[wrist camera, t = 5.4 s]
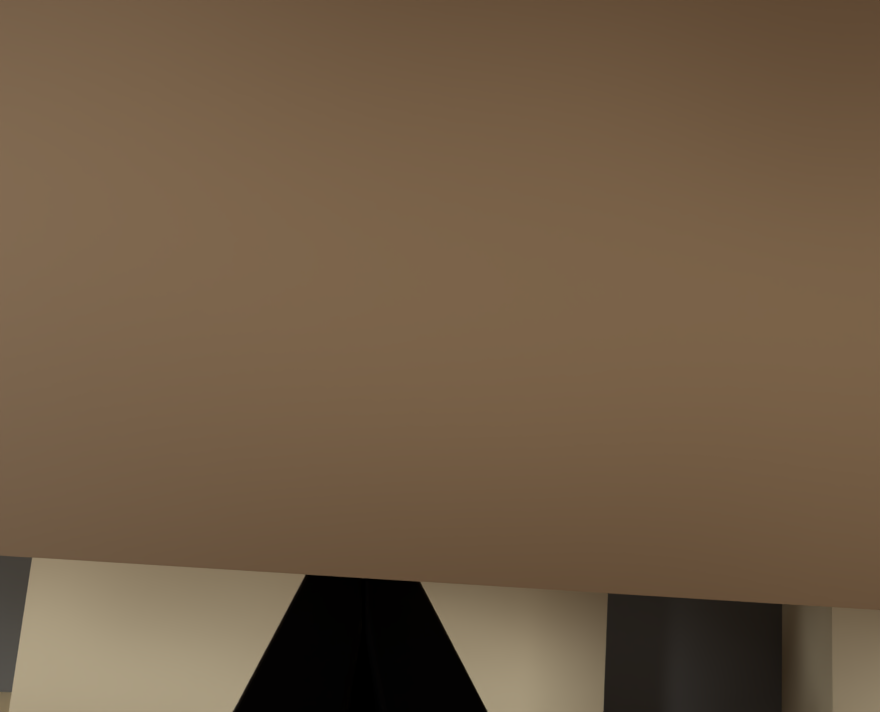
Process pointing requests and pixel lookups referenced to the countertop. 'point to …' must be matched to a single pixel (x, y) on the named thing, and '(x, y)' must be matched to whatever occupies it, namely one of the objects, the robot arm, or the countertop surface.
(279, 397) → the walnut block
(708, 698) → the trap board
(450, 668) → the robot arm
